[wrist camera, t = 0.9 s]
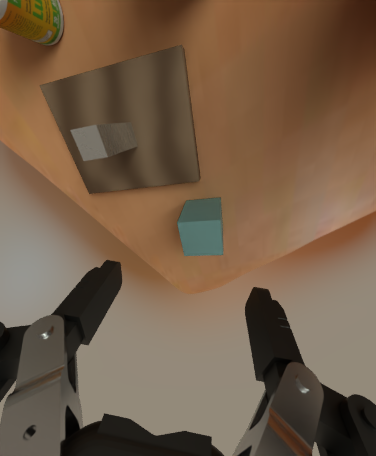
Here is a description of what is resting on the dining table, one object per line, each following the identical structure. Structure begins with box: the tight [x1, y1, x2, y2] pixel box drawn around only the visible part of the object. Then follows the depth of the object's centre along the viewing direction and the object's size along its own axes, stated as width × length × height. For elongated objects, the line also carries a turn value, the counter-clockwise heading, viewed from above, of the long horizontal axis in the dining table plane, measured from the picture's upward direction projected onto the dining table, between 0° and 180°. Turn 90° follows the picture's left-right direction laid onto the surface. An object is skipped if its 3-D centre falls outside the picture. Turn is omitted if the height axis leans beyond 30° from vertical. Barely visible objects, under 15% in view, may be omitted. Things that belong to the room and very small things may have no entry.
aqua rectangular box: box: [177, 197, 223, 256], centre depth 26 cm, size 5×5×7 cm
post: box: [70, 122, 138, 161], centre depth 20 cm, size 3×3×8 cm
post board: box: [39, 45, 200, 194], centre depth 24 cm, size 18×14×2 cm
